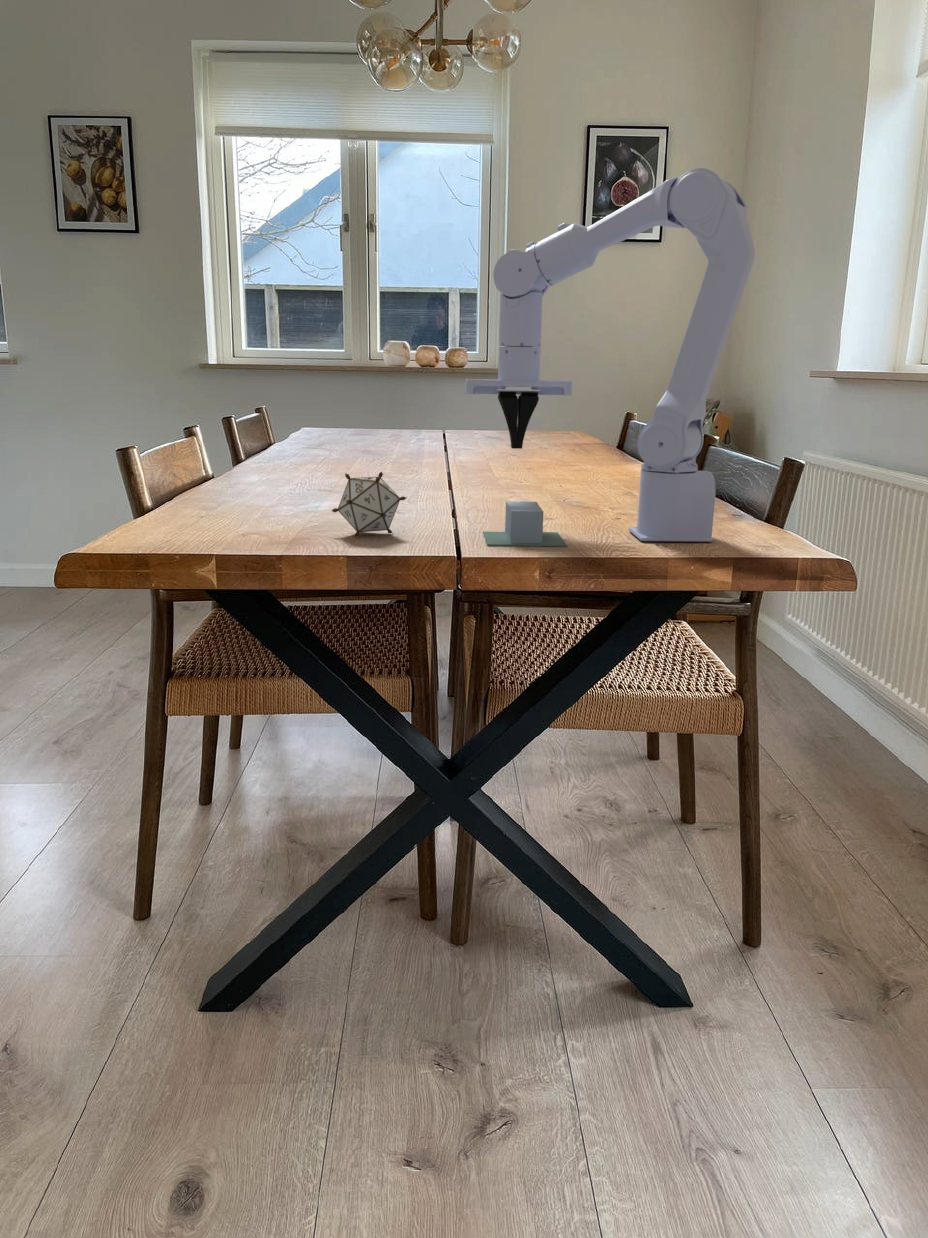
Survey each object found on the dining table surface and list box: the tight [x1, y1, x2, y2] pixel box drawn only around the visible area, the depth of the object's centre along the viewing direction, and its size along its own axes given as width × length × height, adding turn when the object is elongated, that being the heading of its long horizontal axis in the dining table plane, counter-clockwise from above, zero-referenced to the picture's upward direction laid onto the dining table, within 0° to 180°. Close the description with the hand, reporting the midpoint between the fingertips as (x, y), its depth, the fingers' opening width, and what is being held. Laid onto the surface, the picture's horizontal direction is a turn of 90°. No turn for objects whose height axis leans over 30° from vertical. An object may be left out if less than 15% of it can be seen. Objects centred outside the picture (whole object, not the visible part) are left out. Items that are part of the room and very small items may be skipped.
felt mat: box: [482, 531, 568, 548], centre depth 122 cm, size 10×9×1 cm
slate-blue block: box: [504, 500, 544, 543], centre depth 122 cm, size 4×4×8 cm
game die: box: [331, 471, 407, 538], centre depth 122 cm, size 9×8×10 cm
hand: (516, 447), depth 132 cm, fingers closed
